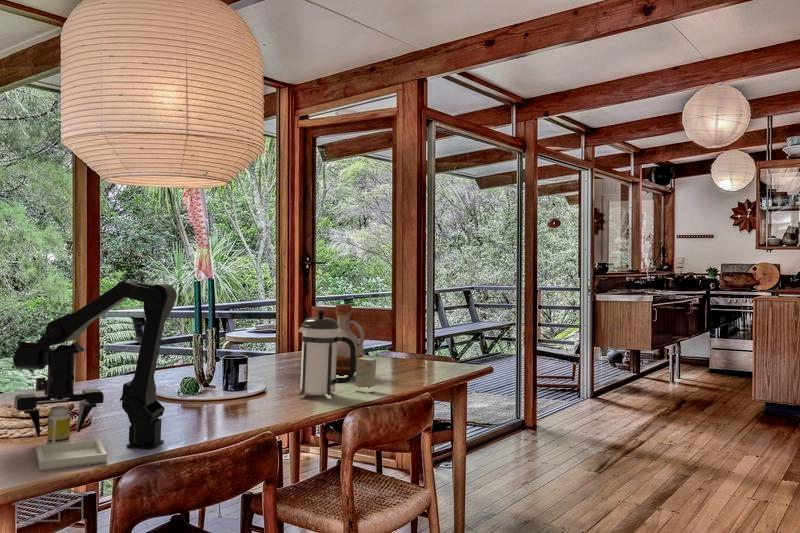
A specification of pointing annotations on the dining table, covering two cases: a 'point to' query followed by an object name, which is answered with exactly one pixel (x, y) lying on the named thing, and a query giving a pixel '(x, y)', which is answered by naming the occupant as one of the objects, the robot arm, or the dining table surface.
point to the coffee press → (322, 355)
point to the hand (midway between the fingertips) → (58, 434)
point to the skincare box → (365, 372)
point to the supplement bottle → (58, 425)
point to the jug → (343, 347)
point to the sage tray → (70, 454)
